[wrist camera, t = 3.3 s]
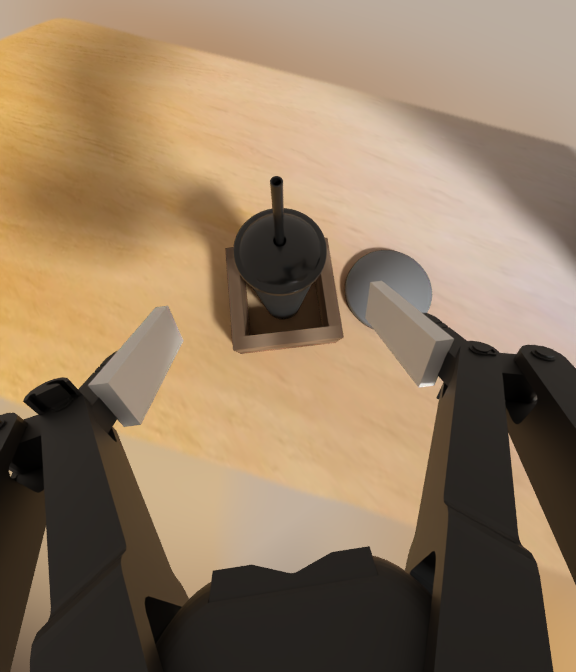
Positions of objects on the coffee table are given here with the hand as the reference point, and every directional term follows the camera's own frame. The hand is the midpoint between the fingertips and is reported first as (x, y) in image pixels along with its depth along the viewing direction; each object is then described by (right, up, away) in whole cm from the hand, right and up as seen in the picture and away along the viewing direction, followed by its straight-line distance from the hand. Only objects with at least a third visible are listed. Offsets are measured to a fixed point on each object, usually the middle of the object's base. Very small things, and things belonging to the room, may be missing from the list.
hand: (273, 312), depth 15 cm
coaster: (+15, +5, +17) cm, 23 cm away
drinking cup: (0, +3, +17) cm, 17 cm away
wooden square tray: (0, +3, +16) cm, 17 cm away
